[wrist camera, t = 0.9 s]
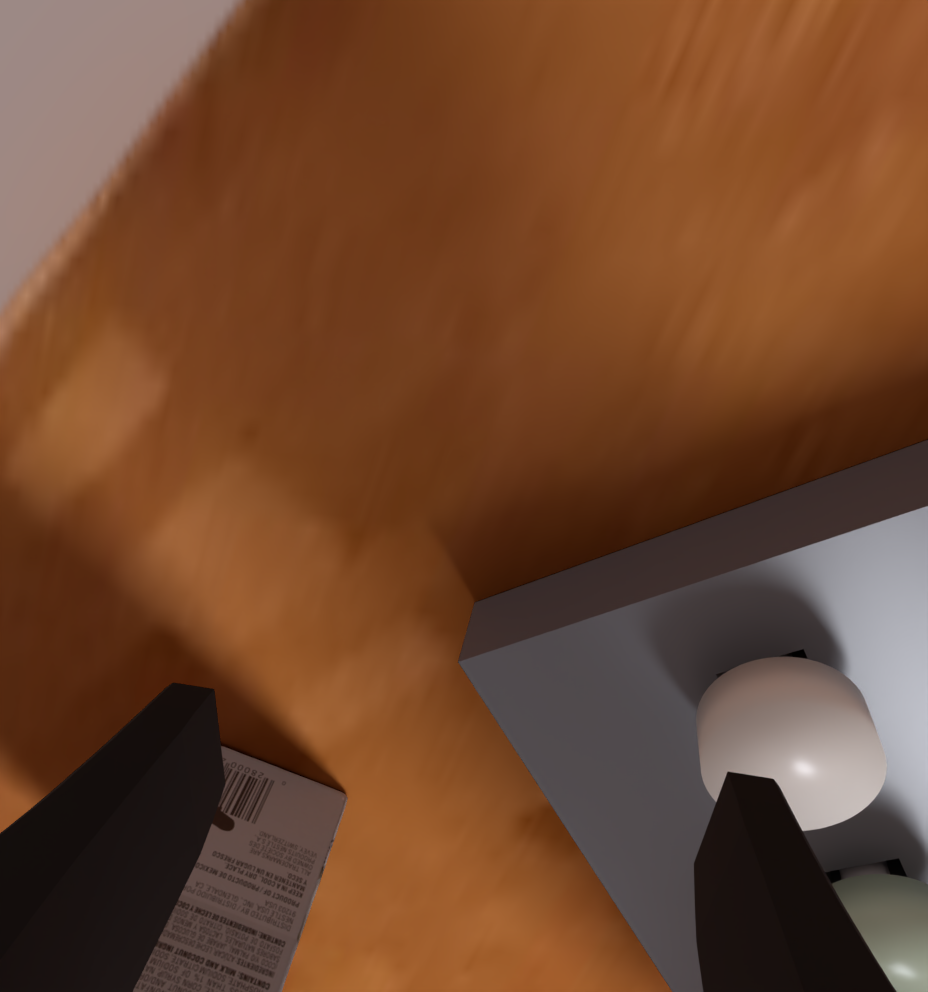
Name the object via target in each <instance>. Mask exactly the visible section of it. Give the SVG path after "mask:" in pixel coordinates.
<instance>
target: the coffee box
mask: <svg viewBox="0 0 928 992" xmlns="http://www.w3.org/2000/svg"><path fill="white" fill-rule="evenodd" d="M221 750H222V758H223V767H224V775H225V784H226V785H225V788H224V790H223V793H222V796H221V799H220V802H219V805H218V808H217V810H216V813H215V816H214V819H213V822H212V825H211V827H210V830H209V833H208V835H207V838H206V841H205V843H204V846H203V849H202V851H201V854H200V856H199V858H198V860H197V862H196V864H195V867H194V869H193V871H192V873H191V875H190V877H189V879H188V881H187V883H186V885H185V887H184V889H183V891H182V893H181V895H180V897H179V899H178V901H177V903H176V905H175V908H174V910H173V912H172V914H171V916H170V918H169V920H168V922H167V924H166V926H165V928H164V930H163V932H162V934H161V936H160V938H159V940H158V942H157V944H156V946H155V948H154V950H153V952H152V954H151V956H150V958H149V960H148V962H147V964H146V966H145V968H144V970H143V972H142V974H141V976H140V978H139V980H138V982H137V984H136V986H135V988H134V990H133V992H282V989H283V986H284V983H285V980H286V977H287V974H288V971H289V968H290V965H291V963H292V960H293V957H294V954H295V951H296V949H297V946H298V943H299V940H300V937H301V934H302V932H303V929H304V926H305V923H306V920H307V917H308V914H309V911H310V908H311V905H312V902H313V900H314V897H315V894H316V891H317V889H318V886H319V883H320V880H321V877H322V874H323V871H324V868H325V865H326V862H327V859H328V856H329V853H330V850H331V847H332V845H333V842H334V839H335V836H336V833H337V830H338V827H339V824H340V821H341V818H342V815H343V812H344V809H345V806H346V802H347V799H348V798H347V796H346V795H345V794H344V793H342V792H340V791H338V790H335V789H333V788H330V787H328V786H325V785H323V784H320V783H317V782H315V781H312V780H310V779H307V778H305V777H302V776H299V775H297V774H294V773H291V772H289V771H286V770H284V769H281V768H278V767H276V766H273V765H271V764H268V763H266V762H263V761H260V760H258V759H255V758H252V757H249V756H247V755H244V754H242V753H239V752H237V751H234V750H232V749H229V748H226V747H224V746H221Z"/></svg>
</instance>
